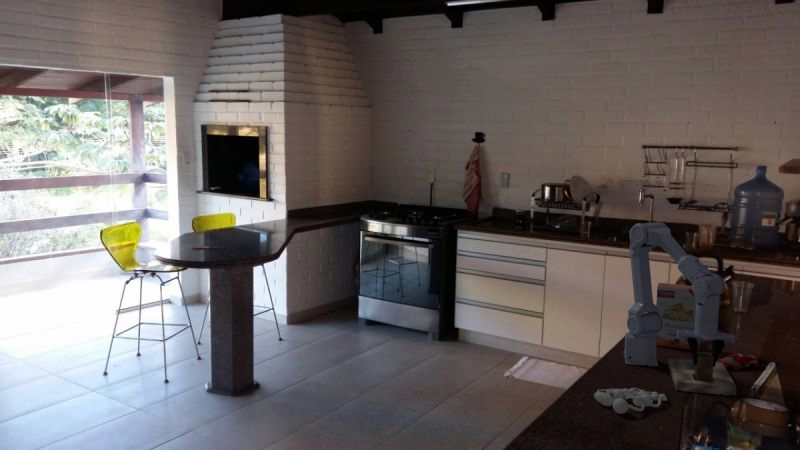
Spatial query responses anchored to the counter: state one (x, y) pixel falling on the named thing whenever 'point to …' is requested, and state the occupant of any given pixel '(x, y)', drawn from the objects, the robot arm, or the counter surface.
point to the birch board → (686, 381)
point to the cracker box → (675, 314)
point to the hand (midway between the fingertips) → (703, 365)
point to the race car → (739, 362)
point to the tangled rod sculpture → (621, 405)
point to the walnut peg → (704, 367)
